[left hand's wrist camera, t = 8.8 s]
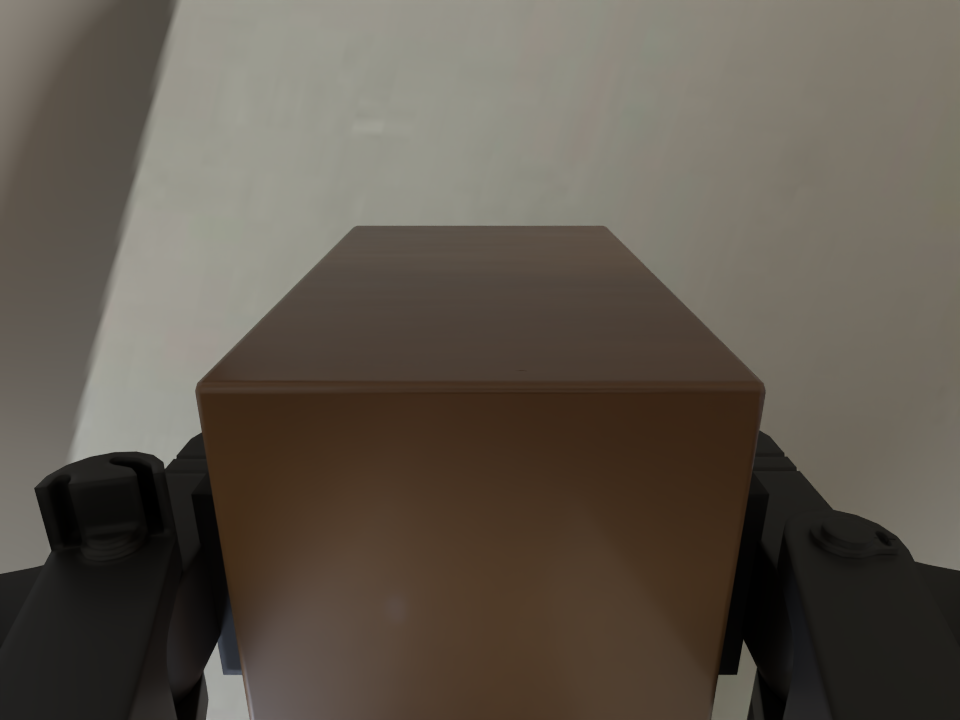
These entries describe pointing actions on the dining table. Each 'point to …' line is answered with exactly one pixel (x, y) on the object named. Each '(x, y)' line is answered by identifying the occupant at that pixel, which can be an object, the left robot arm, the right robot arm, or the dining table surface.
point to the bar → (480, 483)
